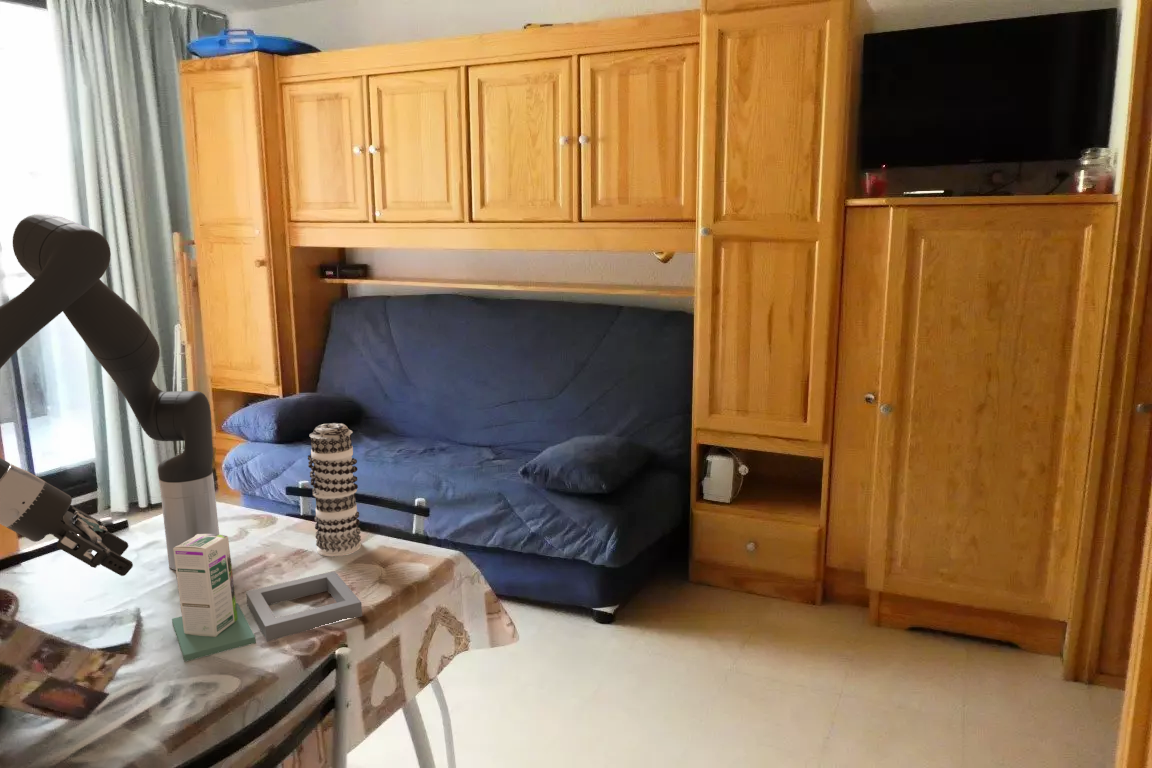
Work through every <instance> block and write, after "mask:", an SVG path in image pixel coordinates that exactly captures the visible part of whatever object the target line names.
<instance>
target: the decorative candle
mask: <svg viewBox="0 0 1152 768" xmlns="http://www.w3.org/2000/svg"><path fill="white" fill-rule="evenodd" d="M352 434H353V430H351V429H349V428H348V426H347V425H346V424H344V423H342V422H341V423H338V422H332V423H330V422H329V423H323V424H319V425H317V426H315V428H314V429H313V432H311V433H309V437H310V445H311V448H310V454H309V455H307V460H308V465H307V466H308V468H310V469H311V470H310V472H309V477H310V486H312V487H313V488H312V489H311V491H312V496H313V497H314V498H315V516H314V522H315V524H314V526H315V527H314V528H315V530H316V532H315V539H316V543H315V546H316V547H317V550H316V551H317V553H318V554H319V555H320V556H324V557H333V556H335V557H343V556H346V555H351V554H353V553H354V554H355V553H356V552H357V551H359V549H361V547H362V545H361V541H362V539H361V538H362V536H361V528H360V527H359V525H360V524H361V523H360V519H358V518H359V517H360V512H359V511H358V505H357V502H356V492H357V491H358V488H359V485H358V484H357V483H355V482H357V481H358V477H357V476H356V475H354V474H355V473H356V472H357V471H358V467H357V466H355V465H356V464H357V463H358V460H357V459H356V458H354V457H353V455H354V448H353V445H352Z"/></svg>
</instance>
